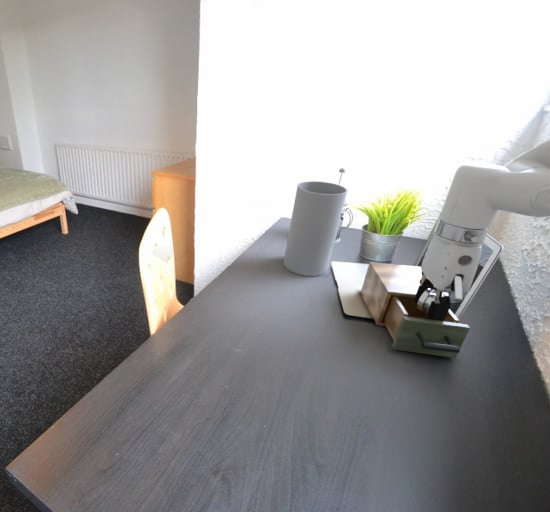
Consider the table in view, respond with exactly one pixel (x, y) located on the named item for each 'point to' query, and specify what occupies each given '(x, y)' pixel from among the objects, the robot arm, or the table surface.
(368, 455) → the table surface
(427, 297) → the grooved metal pulley
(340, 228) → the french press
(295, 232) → the cylinder vase
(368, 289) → the cabinet
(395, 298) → the drawer
